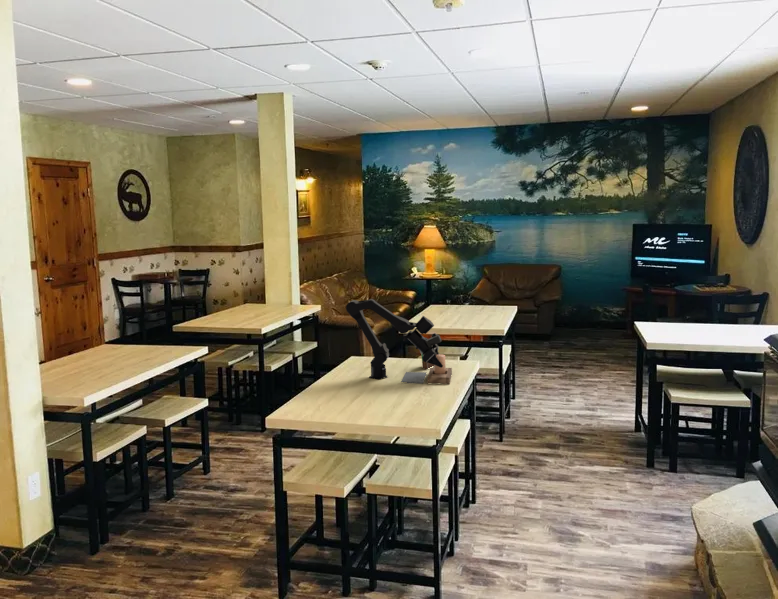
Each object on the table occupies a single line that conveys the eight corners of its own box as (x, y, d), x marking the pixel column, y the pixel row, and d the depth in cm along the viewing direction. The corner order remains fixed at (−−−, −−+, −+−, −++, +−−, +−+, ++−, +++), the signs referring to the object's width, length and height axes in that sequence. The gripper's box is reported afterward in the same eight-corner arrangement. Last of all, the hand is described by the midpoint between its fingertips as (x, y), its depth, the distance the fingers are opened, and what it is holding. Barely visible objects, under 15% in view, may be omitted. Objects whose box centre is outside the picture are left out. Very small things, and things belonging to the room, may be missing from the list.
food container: (428, 363, 336) (428, 344, 335) (438, 365, 333) (438, 345, 331) (415, 368, 326) (414, 348, 325) (425, 370, 323) (425, 350, 321)
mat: (401, 383, 300) (401, 381, 300) (405, 373, 318) (405, 371, 318) (423, 383, 298) (423, 382, 298) (426, 373, 316) (426, 372, 316)
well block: (427, 383, 298) (427, 377, 298) (430, 373, 316) (430, 367, 315) (449, 384, 297) (449, 377, 296) (451, 374, 314) (451, 367, 314)
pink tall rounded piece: (432, 379, 306) (431, 355, 304) (438, 376, 310) (438, 353, 308) (441, 380, 303) (441, 357, 301) (447, 378, 307) (447, 355, 305)
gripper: (429, 332, 295) (454, 357, 294) (432, 325, 313) (456, 348, 313) (411, 349, 297) (436, 374, 297) (416, 341, 315) (439, 364, 315)
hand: (442, 364), depth 305 cm, fingers open, 8 cm apart
